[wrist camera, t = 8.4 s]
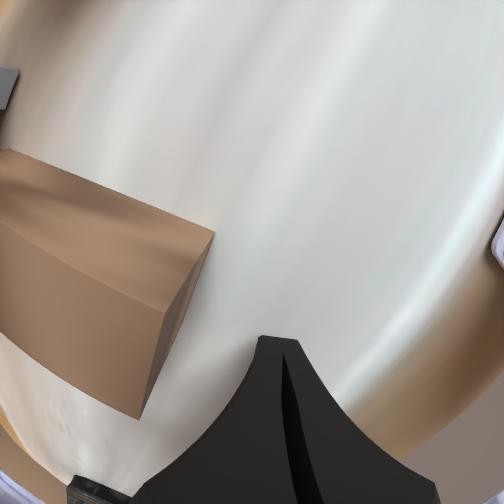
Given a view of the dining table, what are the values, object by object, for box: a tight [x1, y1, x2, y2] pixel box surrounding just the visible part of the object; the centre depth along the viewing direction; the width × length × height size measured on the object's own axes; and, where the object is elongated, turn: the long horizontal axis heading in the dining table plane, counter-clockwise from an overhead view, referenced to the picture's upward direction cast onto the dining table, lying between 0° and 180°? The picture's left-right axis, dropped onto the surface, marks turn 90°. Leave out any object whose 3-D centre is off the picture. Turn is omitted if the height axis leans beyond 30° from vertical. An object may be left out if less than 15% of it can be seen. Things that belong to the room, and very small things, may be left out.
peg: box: [0, 149, 215, 420], centre depth 7 cm, size 11×4×5 cm, turn 67°
